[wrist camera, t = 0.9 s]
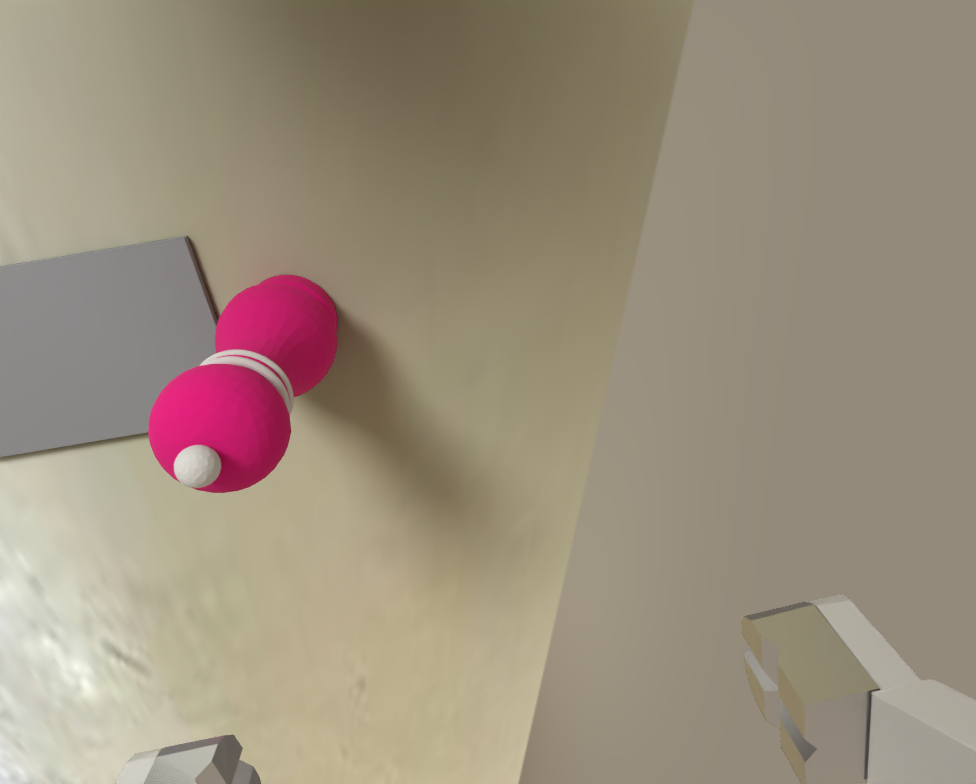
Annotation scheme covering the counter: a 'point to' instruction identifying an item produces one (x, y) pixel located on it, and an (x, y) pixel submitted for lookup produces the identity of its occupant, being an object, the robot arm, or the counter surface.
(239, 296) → the pepper mill
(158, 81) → the counter surface
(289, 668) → the counter surface
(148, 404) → the mat
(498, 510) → the counter surface
